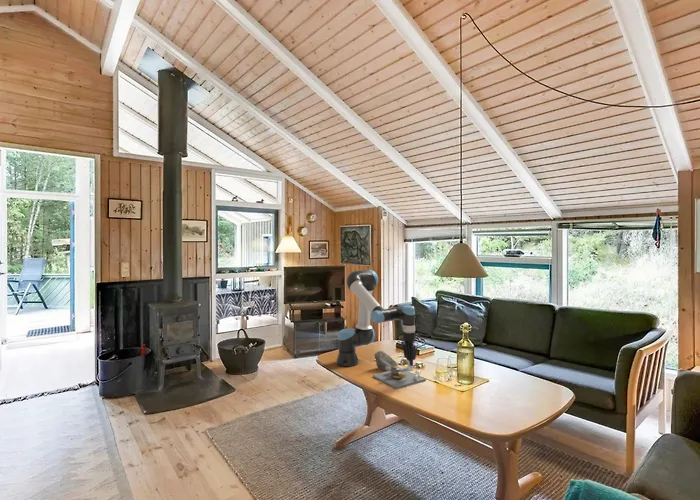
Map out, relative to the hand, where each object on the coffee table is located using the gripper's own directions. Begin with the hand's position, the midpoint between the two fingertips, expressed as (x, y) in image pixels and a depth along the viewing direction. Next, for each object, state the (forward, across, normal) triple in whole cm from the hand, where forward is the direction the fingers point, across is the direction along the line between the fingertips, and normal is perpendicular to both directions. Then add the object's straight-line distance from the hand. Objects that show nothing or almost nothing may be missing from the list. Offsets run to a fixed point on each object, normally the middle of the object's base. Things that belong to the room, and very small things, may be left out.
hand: (410, 370), depth 234 cm
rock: (+6, -24, 0) cm, 25 cm away
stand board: (+6, -6, -4) cm, 10 cm away
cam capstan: (+4, -7, -6) cm, 10 cm away
